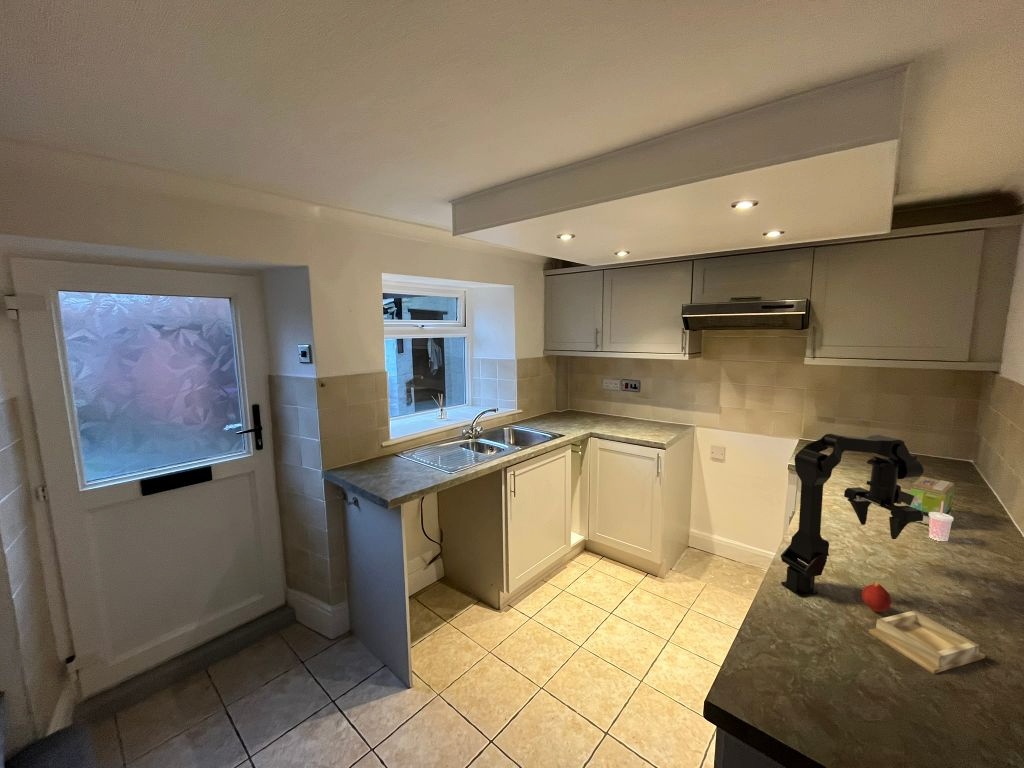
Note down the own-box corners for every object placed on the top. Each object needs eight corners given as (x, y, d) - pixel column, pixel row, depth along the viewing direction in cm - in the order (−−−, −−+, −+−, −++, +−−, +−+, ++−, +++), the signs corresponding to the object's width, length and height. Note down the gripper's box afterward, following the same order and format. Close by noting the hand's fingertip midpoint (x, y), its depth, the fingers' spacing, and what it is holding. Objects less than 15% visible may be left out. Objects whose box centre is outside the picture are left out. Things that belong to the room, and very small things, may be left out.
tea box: (942, 530, 156) (947, 490, 154) (905, 520, 164) (909, 483, 162) (951, 519, 165) (955, 481, 163) (915, 510, 173) (919, 475, 171)
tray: (933, 673, 91) (935, 659, 91) (868, 632, 104) (870, 620, 103) (984, 658, 95) (986, 644, 95) (916, 620, 108) (917, 608, 107)
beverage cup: (955, 545, 145) (960, 505, 143) (934, 543, 146) (938, 504, 144) (941, 536, 151) (946, 498, 149) (921, 535, 152) (925, 497, 150)
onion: (876, 603, 114) (879, 575, 113) (896, 618, 109) (899, 588, 108) (855, 604, 114) (857, 576, 113) (873, 618, 108) (876, 589, 107)
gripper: (944, 490, 115) (937, 545, 117) (876, 468, 133) (871, 516, 135) (908, 492, 114) (901, 548, 115) (845, 470, 132) (840, 518, 134)
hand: (877, 531), depth 125 cm, fingers open, 9 cm apart
